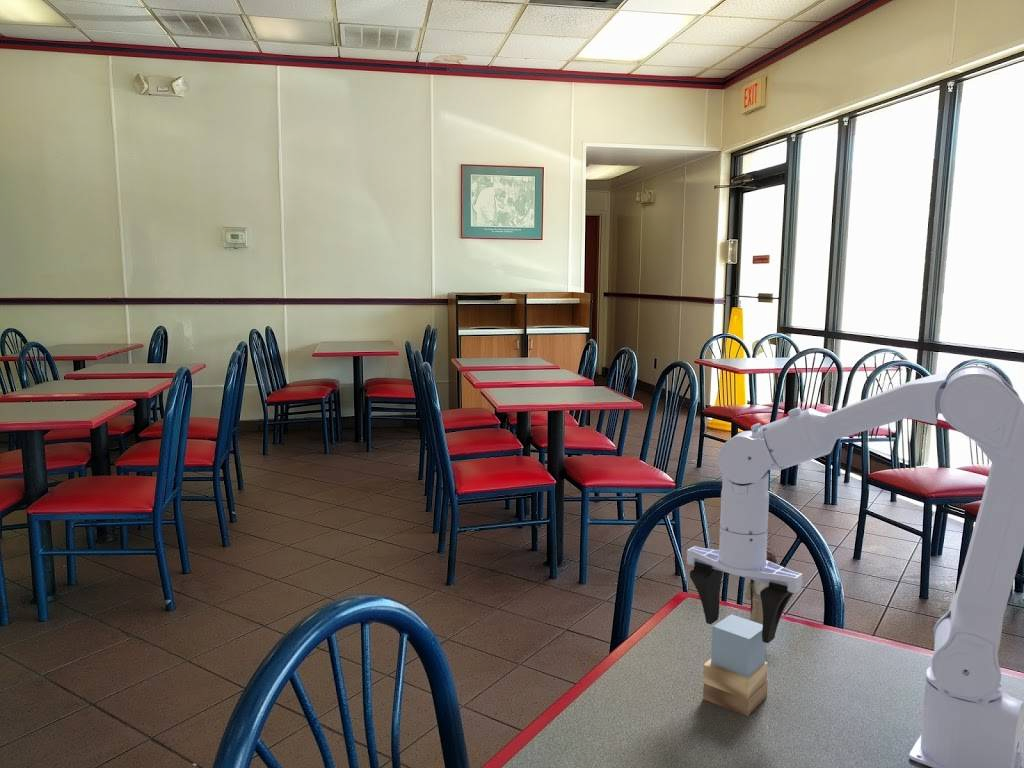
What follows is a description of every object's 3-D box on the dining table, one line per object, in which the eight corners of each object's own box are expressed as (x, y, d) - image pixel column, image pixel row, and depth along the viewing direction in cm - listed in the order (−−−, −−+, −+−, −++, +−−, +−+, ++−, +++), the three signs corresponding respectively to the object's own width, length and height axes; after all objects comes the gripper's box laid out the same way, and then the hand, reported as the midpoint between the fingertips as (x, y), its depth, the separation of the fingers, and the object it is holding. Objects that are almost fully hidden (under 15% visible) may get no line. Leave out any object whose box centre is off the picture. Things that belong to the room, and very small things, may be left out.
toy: (782, 639, 112) (787, 544, 110) (745, 636, 113) (749, 542, 111) (776, 621, 118) (781, 531, 116) (740, 618, 119) (744, 529, 117)
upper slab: (766, 680, 96) (767, 662, 96) (747, 699, 92) (748, 680, 92) (722, 665, 100) (723, 647, 100) (702, 682, 96) (703, 664, 95)
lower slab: (766, 698, 97) (767, 680, 96) (747, 718, 92) (748, 699, 92) (723, 682, 101) (724, 665, 100) (702, 701, 96) (703, 682, 96)
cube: (765, 663, 96) (767, 626, 95) (747, 677, 92) (749, 639, 92) (729, 649, 99) (731, 614, 99) (710, 663, 96) (712, 626, 95)
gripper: (814, 532, 91) (808, 637, 93) (706, 509, 101) (703, 604, 103) (791, 547, 86) (785, 657, 88) (679, 521, 96) (677, 621, 98)
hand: (739, 630), depth 95 cm, fingers open, 7 cm apart
